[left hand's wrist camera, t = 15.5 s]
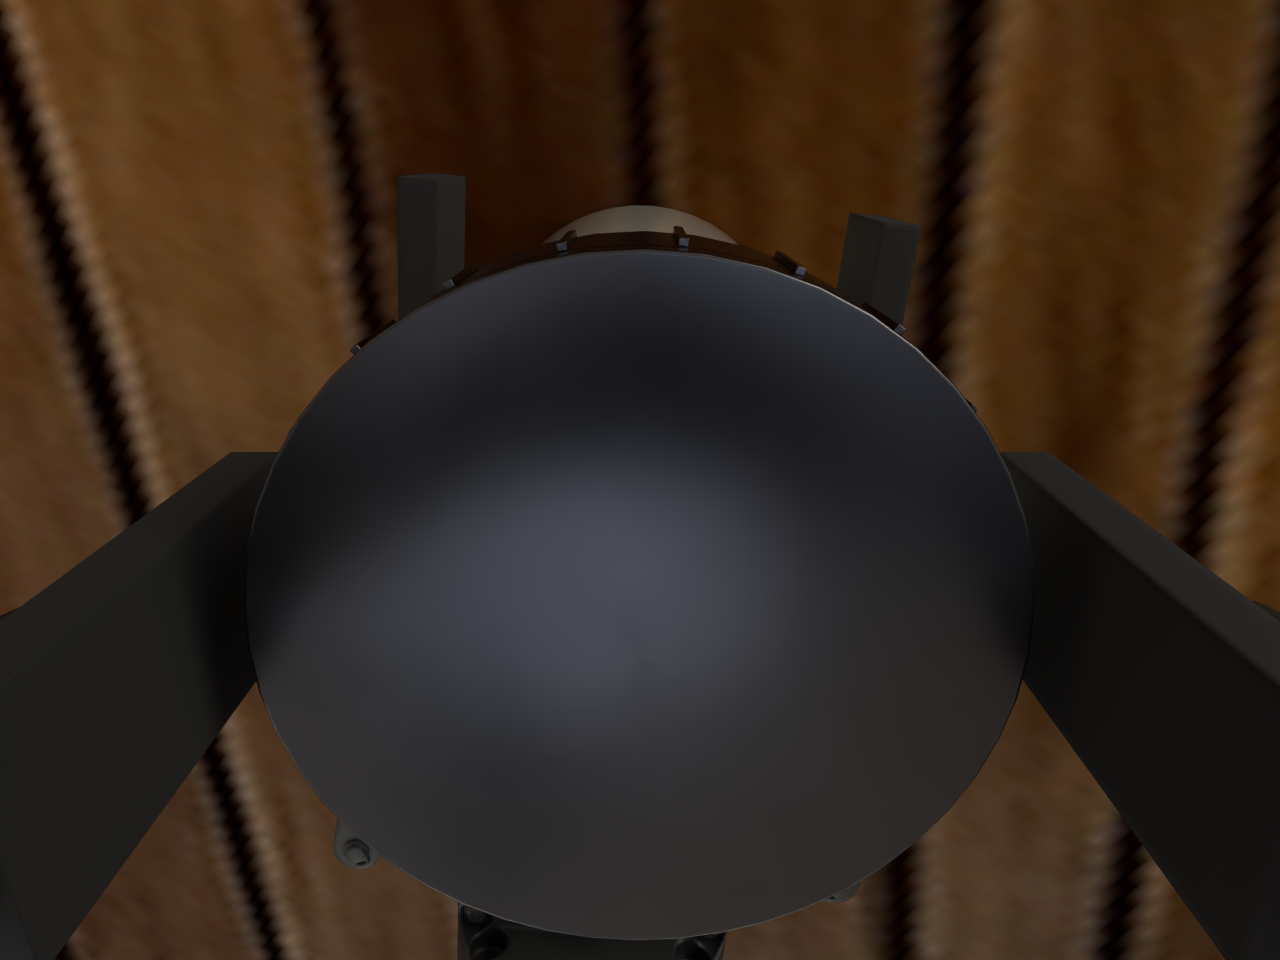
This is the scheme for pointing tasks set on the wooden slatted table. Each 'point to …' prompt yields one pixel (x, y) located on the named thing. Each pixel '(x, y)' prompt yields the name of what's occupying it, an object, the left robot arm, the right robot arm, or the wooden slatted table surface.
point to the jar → (641, 223)
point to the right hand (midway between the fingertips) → (660, 198)
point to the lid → (639, 589)
